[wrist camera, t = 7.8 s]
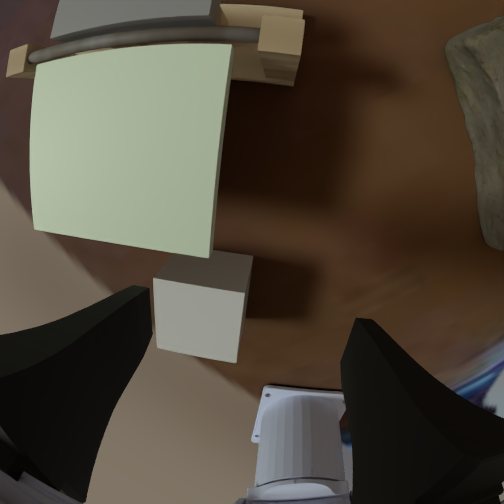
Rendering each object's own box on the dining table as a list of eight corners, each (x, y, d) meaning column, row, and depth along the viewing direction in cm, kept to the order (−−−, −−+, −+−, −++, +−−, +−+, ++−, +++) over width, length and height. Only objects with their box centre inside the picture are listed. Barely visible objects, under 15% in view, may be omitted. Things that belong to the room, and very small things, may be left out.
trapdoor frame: (293, 86, 16) (300, 60, 9) (74, 84, 17) (5, 80, 10) (302, 15, 14) (311, -40, 8) (85, 23, 15) (22, 1, 8)
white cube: (245, 317, 22) (236, 363, 18) (179, 306, 22) (157, 347, 18) (253, 255, 20) (244, 293, 16) (180, 244, 21) (153, 277, 16)
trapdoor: (214, 248, 14) (207, 261, 13) (46, 223, 14) (30, 231, 13) (247, -17, 9) (243, -31, 8) (62, 8, 10) (46, 2, 8)
